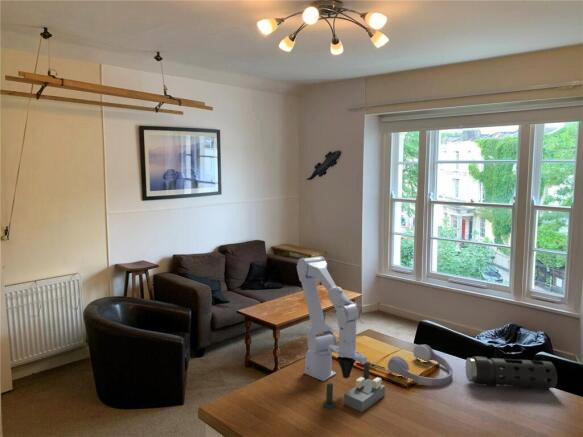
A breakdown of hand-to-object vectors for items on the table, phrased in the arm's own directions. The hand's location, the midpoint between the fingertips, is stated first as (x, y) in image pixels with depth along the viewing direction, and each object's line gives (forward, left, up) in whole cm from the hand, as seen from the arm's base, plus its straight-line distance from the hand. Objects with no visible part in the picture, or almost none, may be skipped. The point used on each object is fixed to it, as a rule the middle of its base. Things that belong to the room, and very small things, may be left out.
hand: (346, 376), depth 150 cm
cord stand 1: (+1, -11, -5) cm, 12 cm away
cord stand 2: (+1, +11, -5) cm, 12 cm away
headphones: (+13, +32, -6) cm, 35 cm away
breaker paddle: (+6, 0, -1) cm, 6 cm away
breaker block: (+8, 0, -5) cm, 9 cm away
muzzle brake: (+40, +43, -6) cm, 59 cm away
